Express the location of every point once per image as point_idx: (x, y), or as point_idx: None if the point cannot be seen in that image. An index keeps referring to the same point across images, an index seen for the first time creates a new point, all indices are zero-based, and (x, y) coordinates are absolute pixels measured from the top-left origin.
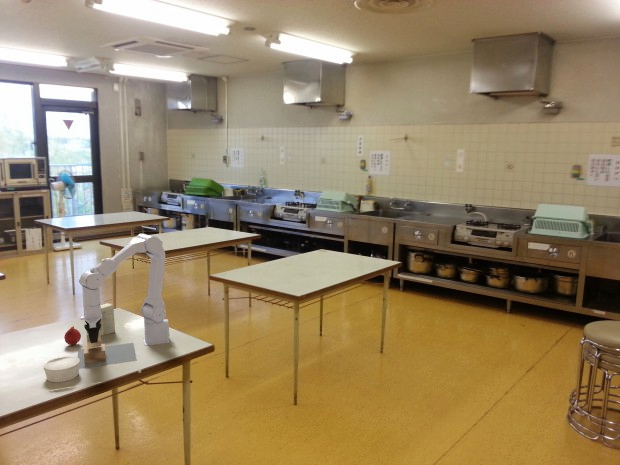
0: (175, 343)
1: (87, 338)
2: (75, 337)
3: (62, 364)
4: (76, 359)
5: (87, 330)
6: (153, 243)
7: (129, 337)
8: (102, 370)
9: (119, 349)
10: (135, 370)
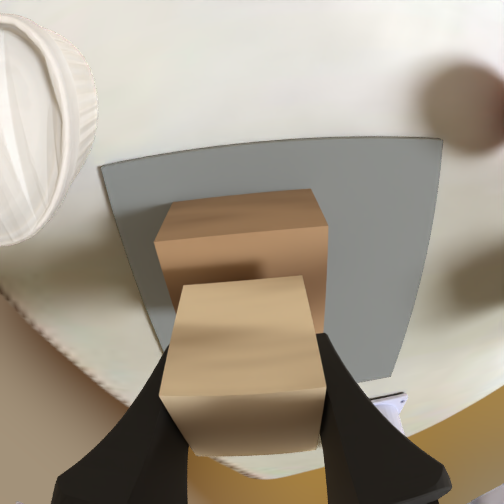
0: None
1: (168, 362)
2: None
3: None
4: (14, 222)
5: (82, 465)
6: None
7: (461, 349)
8: (97, 292)
9: (340, 345)
10: (104, 383)
